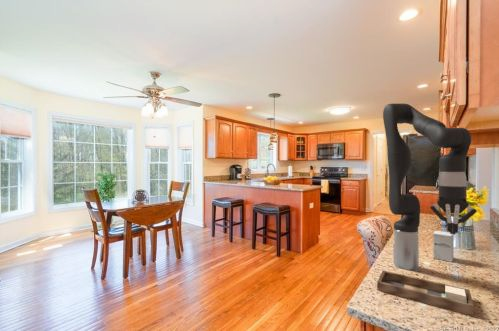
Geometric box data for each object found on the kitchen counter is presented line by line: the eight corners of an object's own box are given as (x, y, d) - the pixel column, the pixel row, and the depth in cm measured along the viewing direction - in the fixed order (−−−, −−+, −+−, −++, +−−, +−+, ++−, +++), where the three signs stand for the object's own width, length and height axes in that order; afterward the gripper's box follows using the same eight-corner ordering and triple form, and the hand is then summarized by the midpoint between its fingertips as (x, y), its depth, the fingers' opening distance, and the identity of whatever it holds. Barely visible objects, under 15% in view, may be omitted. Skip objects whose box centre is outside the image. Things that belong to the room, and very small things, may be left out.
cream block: (445, 303, 79) (445, 291, 79) (445, 296, 83) (445, 285, 83) (466, 309, 76) (466, 296, 76) (464, 301, 80) (464, 289, 80)
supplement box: (432, 258, 119) (432, 232, 119) (435, 254, 124) (434, 229, 124) (452, 262, 113) (451, 235, 113) (454, 258, 118) (453, 232, 118)
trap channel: (377, 292, 88) (377, 282, 88) (383, 280, 97) (382, 270, 97) (474, 319, 72) (473, 306, 72) (469, 301, 82) (469, 289, 82)
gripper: (476, 184, 83) (477, 234, 83) (429, 183, 92) (429, 228, 92) (479, 186, 77) (479, 239, 78) (428, 184, 86) (428, 233, 86)
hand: (452, 233), depth 85 cm, fingers closed
